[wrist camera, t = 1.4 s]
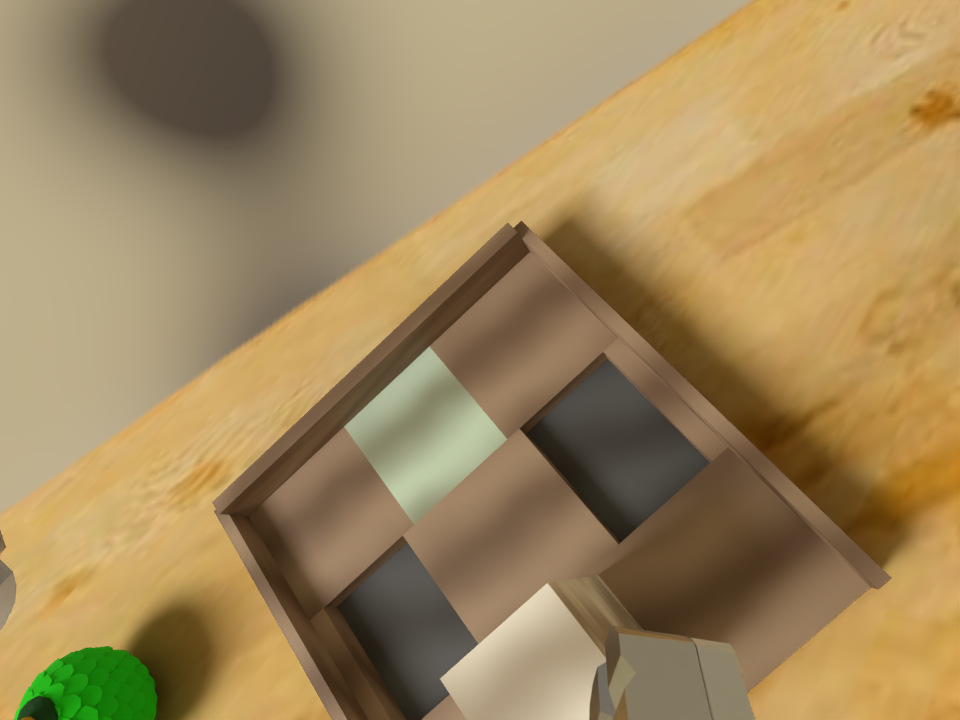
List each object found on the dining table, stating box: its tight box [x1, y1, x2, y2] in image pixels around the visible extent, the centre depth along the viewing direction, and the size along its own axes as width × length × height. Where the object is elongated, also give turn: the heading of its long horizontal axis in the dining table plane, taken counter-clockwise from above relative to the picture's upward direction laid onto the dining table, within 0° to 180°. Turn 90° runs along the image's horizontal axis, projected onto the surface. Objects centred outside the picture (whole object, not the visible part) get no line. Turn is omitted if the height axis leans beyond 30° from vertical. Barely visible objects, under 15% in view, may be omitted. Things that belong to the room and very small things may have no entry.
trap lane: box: [212, 221, 891, 720], centre depth 40 cm, size 28×28×5 cm
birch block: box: [440, 575, 643, 720], centre depth 32 cm, size 7×6×12 cm
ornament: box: [14, 646, 158, 720], centre depth 44 cm, size 8×8×10 cm
